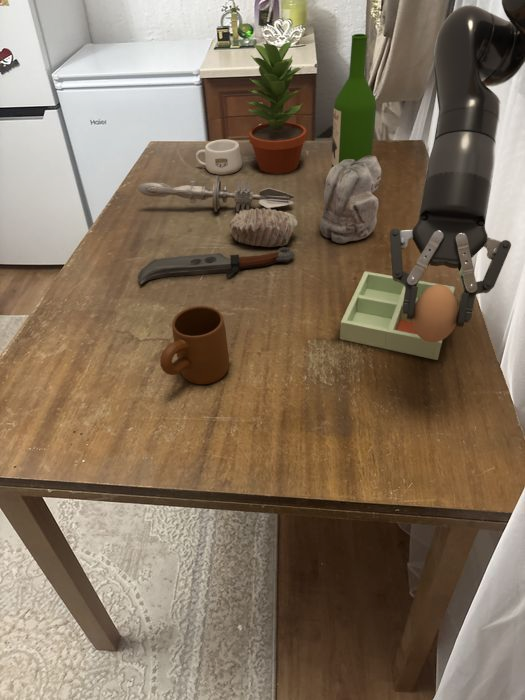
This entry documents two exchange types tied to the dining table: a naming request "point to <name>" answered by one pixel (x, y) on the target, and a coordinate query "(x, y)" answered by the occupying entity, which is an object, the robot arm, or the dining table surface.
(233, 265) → the knife
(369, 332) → the egg tray
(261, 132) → the potted plant
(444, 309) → the egg
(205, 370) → the mug
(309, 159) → the dining table surface
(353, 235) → the figurine
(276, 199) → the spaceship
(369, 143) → the wine bottle
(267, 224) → the seashell
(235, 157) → the mug
